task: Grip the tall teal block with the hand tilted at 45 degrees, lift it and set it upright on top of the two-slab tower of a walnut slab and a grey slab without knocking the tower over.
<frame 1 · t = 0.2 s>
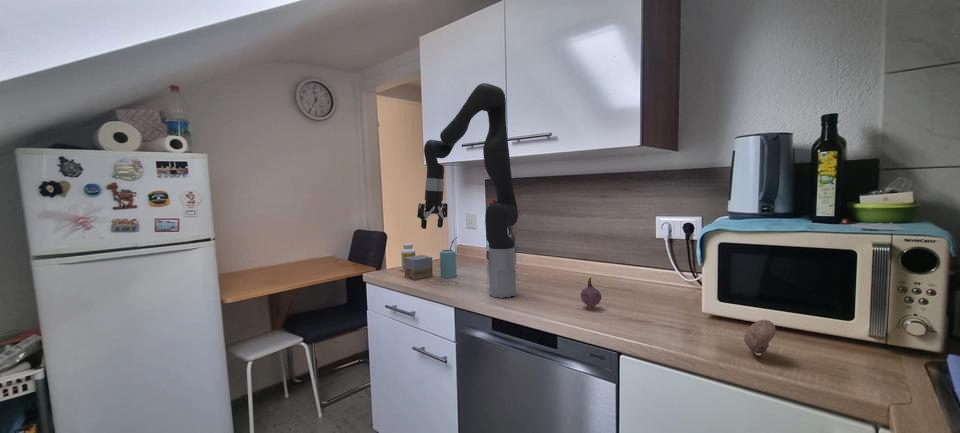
hand: (432, 228, 152), 22 cm above the counter, tool pointing down, fingers open, 8 cm apart
supplement bottle: (408, 271, 174), on the counter
mushroom: (758, 357, 80), on the counter
vegetable: (590, 308, 114), on the counter
top slab: (418, 267, 160), point 4 cm above the counter, touching bottom slab
bottom slab: (418, 277, 161), on the counter, touching top slab
teal block: (448, 276, 160), on the counter
mate gourd: (448, 266, 182), on the counter
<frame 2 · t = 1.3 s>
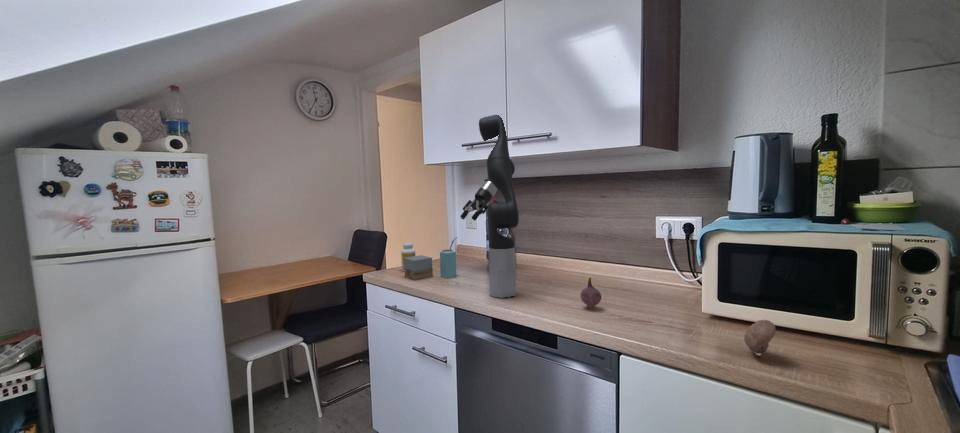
hand: (467, 218, 165), 25 cm above the counter, tool tilted 45°, fingers open, 8 cm apart
nothing on the counter moved.
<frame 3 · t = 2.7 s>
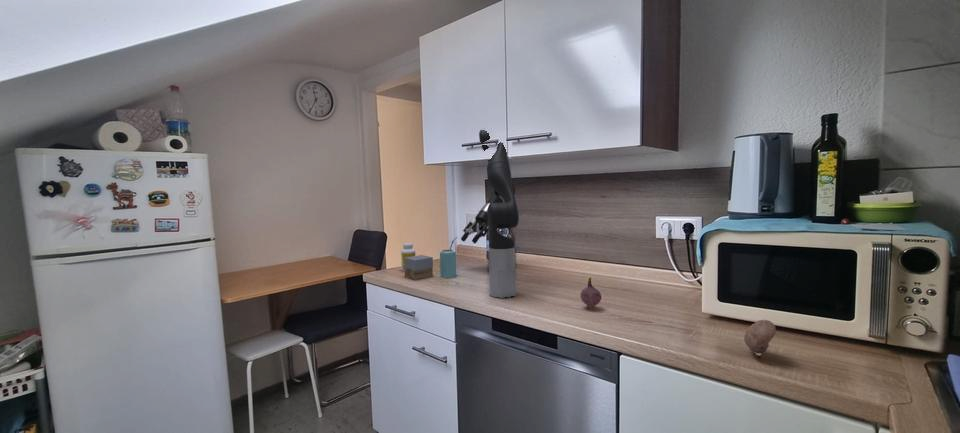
hand: (467, 241, 166), 15 cm above the counter, tool tilted 45°, fingers open, 8 cm apart
nothing on the counter moved.
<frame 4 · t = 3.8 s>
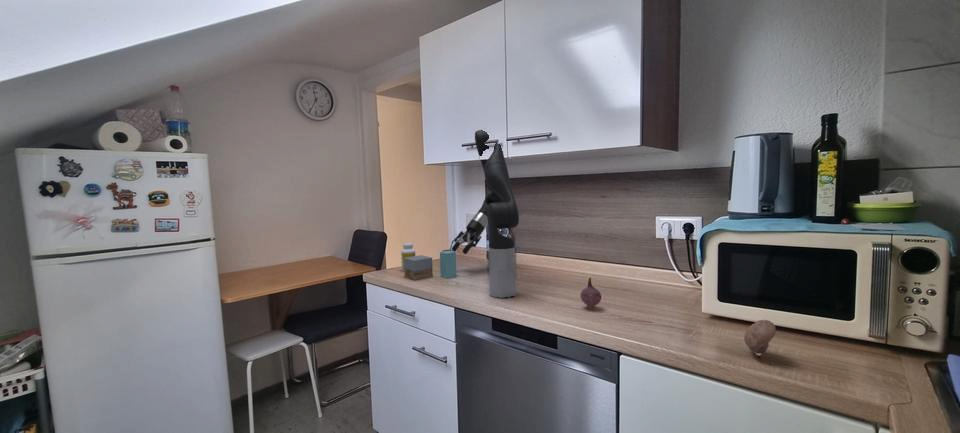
hand: (458, 251, 163), 10 cm above the counter, tool tilted 45°, fingers open, 8 cm apart
nothing on the counter moved.
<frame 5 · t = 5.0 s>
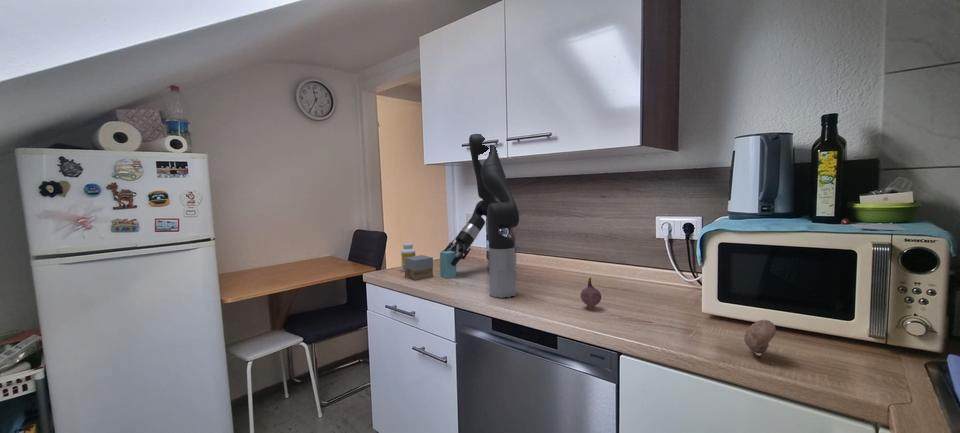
hand: (447, 263, 159), 6 cm above the counter, tool tilted 45°, fingers open, 8 cm apart
nothing on the counter moved.
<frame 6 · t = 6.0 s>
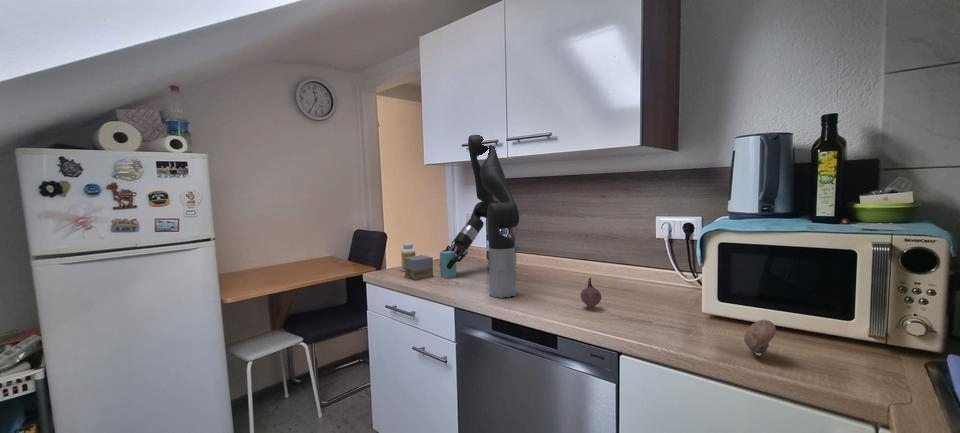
hand: (444, 266, 158), 5 cm above the counter, tool tilted 45°, fingers closed on teal block, 5 cm apart
teal block: (448, 276, 160), on the counter, touching gripper
everything else where it was.
when the fingers open (15 cm above the counter, at t = 10.5 s): teal block drops 2 cm, point 9 cm above the counter.
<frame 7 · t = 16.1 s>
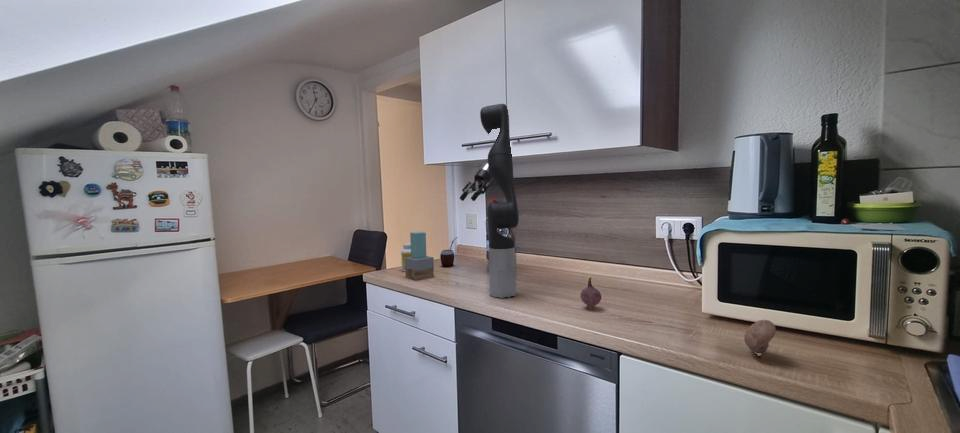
hand: (466, 199, 162), 34 cm above the counter, tool tilted 45°, fingers open, 8 cm apart
teal block: (418, 257, 160), point 9 cm above the counter
everything else where it was.
at the end: teal block 0.4 cm off-centre on the top slab, point 4.5 cm above the top slab's base; top slab 0.0 cm off-centre on the bottom slab, point 4.5 cm above the bottom slab's base; teal block tilted 0° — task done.
